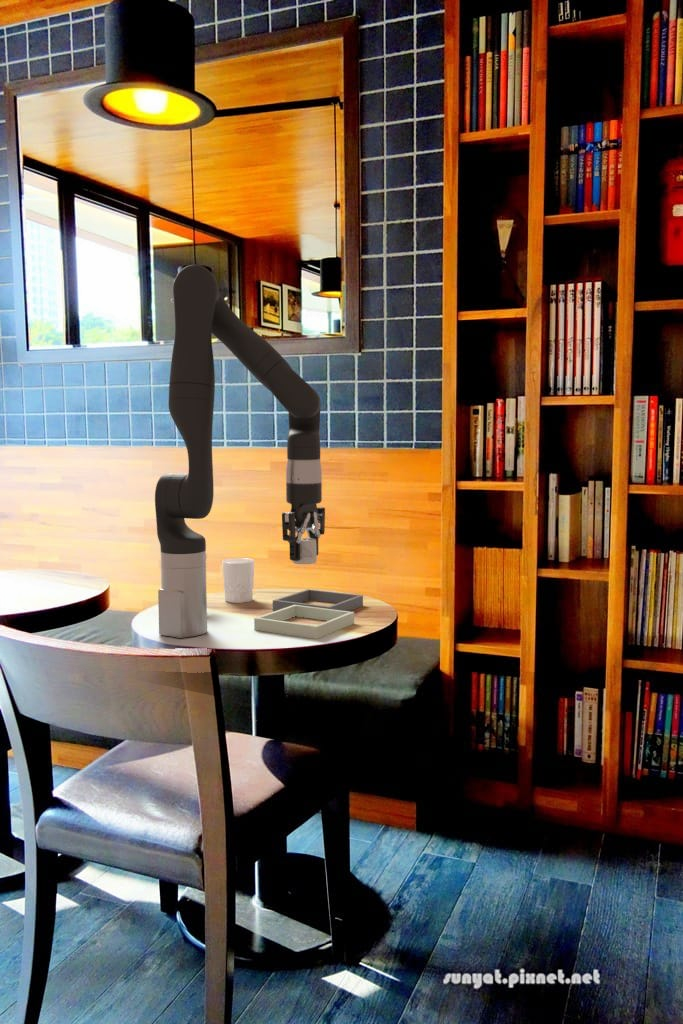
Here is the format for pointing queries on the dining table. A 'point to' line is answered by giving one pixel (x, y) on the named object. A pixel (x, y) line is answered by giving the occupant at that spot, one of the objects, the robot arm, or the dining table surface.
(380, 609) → the dining table surface
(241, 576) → the white cup
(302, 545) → the die
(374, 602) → the dining table surface
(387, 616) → the dining table surface
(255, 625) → the sage frame
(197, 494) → the robot arm
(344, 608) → the gray frame
